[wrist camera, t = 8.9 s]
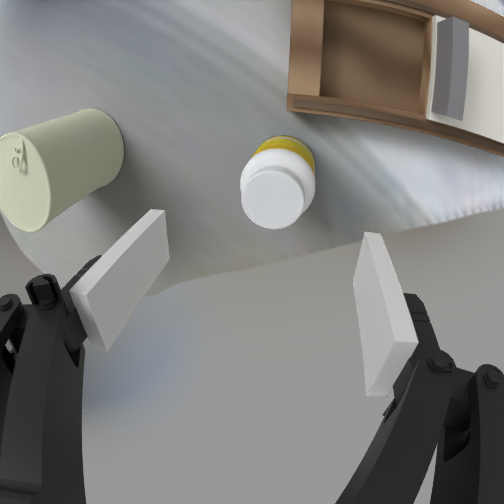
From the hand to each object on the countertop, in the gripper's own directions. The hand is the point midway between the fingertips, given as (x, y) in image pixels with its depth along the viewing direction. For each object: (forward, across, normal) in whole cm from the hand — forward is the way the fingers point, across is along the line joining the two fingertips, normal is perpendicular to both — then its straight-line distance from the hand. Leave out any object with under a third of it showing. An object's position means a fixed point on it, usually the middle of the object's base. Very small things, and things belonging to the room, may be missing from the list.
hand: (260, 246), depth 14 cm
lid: (+13, +17, +11) cm, 24 cm away
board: (+16, +11, +12) cm, 22 cm away
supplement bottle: (+16, 0, 0) cm, 16 cm away
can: (+16, -21, +1) cm, 26 cm away
